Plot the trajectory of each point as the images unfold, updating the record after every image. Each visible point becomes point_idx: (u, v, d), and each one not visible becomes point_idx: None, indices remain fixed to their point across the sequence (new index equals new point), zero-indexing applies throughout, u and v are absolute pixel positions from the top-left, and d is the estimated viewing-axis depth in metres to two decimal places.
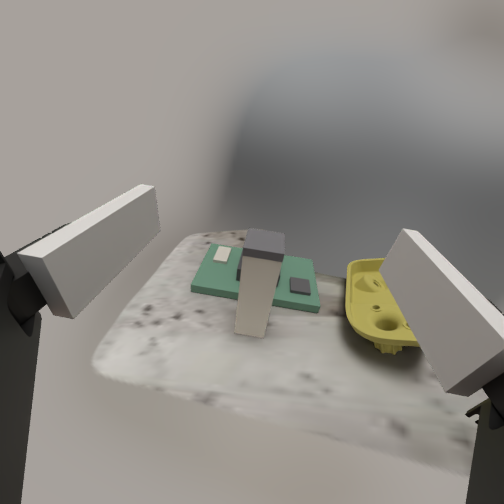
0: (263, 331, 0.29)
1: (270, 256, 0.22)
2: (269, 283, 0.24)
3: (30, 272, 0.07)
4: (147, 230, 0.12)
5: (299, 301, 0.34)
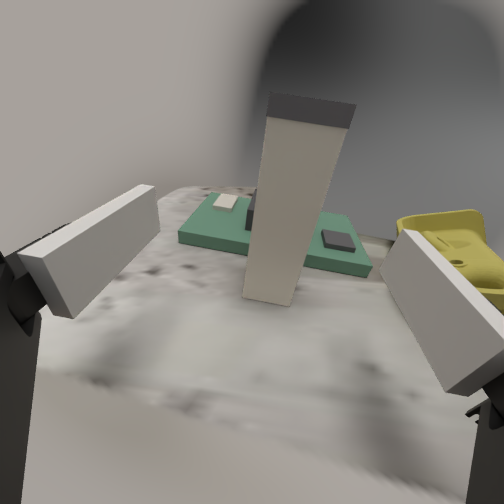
0: (290, 293, 0.17)
1: (325, 114, 0.11)
2: (313, 188, 0.13)
3: (30, 272, 0.07)
4: (147, 230, 0.12)
5: (340, 258, 0.22)
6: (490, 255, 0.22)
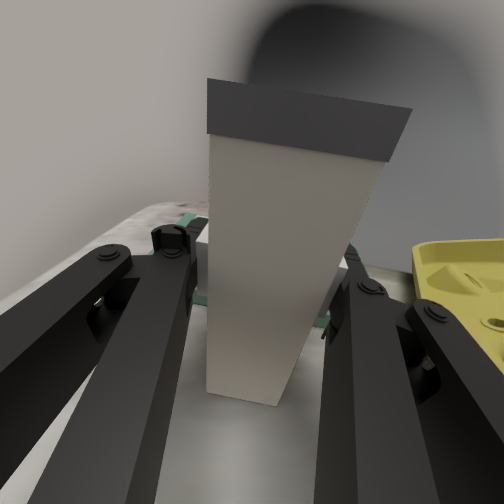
0: (277, 394, 0.11)
1: (336, 129, 0.05)
2: (311, 265, 0.07)
3: (198, 257, 0.08)
4: None
5: None
6: None
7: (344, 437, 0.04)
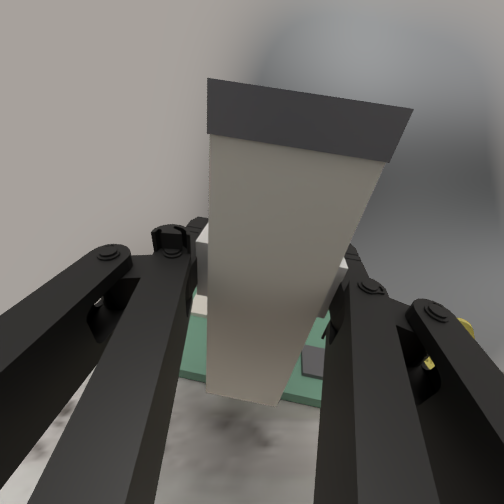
0: (277, 394, 0.11)
1: (337, 130, 0.05)
2: (311, 265, 0.07)
3: (198, 257, 0.08)
4: None
5: (318, 394, 0.21)
6: None
7: (345, 437, 0.04)
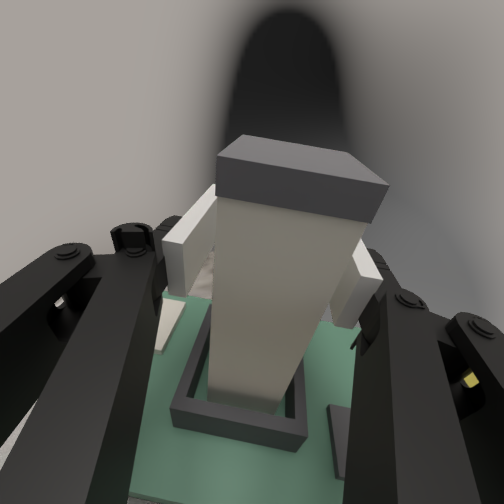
0: (274, 406, 0.12)
1: (326, 197, 0.05)
2: (305, 299, 0.08)
3: (166, 256, 0.08)
4: None
5: None
6: None
7: (381, 451, 0.04)
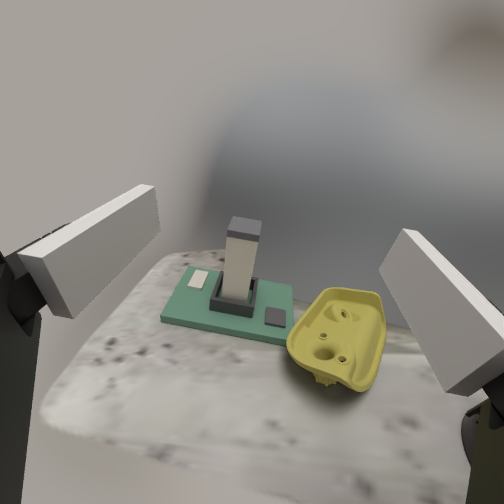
0: None
1: (248, 237, 0.28)
2: (248, 260, 0.30)
3: (30, 272, 0.07)
4: (147, 230, 0.12)
5: (273, 334, 0.33)
6: (360, 332, 0.33)
7: None
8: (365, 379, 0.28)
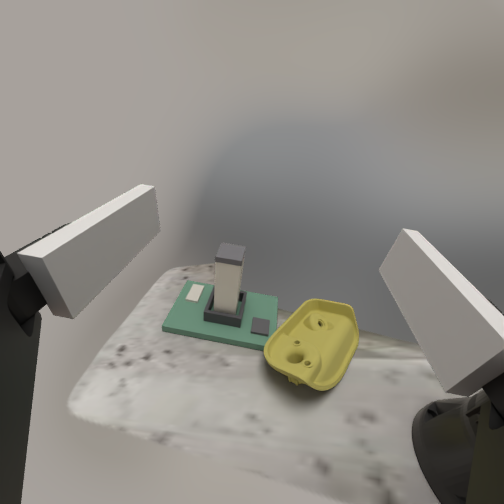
0: (233, 314, 0.41)
1: (233, 262, 0.34)
2: (234, 280, 0.36)
3: (30, 272, 0.07)
4: (147, 230, 0.12)
5: (257, 342, 0.38)
6: (330, 340, 0.38)
7: None
8: (329, 380, 0.34)
